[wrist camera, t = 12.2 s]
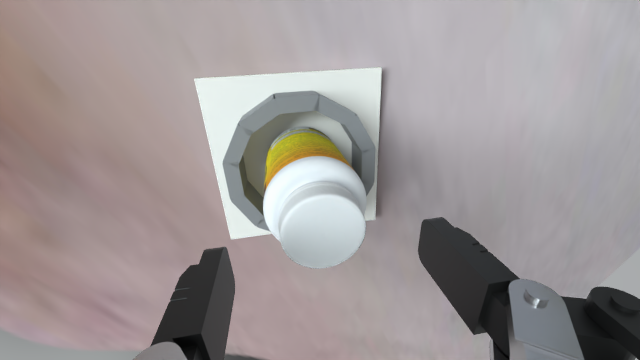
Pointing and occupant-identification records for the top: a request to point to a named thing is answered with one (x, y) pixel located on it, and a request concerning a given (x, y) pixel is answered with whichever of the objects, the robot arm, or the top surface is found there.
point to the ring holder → (278, 116)
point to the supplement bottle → (313, 199)
